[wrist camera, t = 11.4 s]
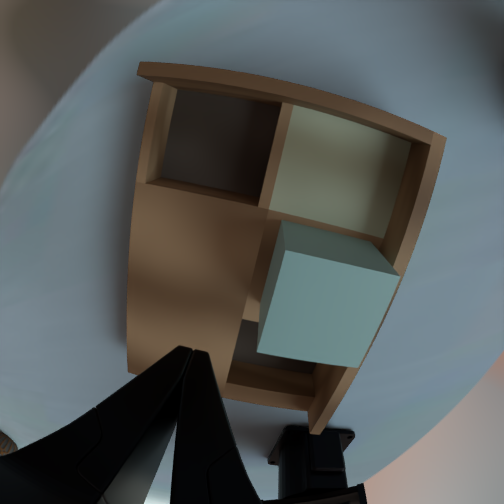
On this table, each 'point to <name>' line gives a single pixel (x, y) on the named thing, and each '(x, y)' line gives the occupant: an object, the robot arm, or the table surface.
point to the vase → (6, 445)
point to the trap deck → (259, 216)
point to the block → (323, 296)
